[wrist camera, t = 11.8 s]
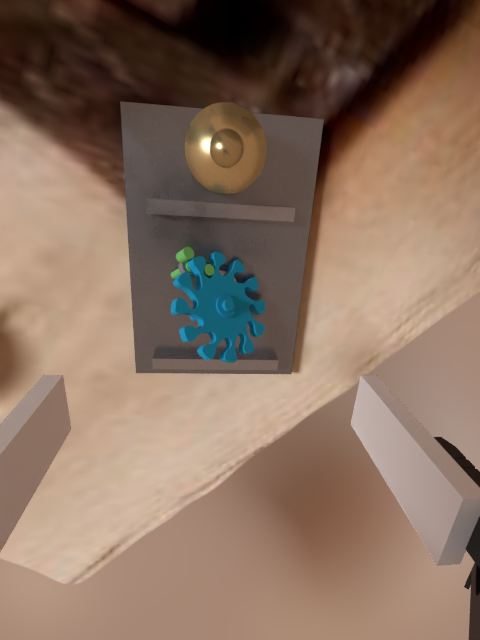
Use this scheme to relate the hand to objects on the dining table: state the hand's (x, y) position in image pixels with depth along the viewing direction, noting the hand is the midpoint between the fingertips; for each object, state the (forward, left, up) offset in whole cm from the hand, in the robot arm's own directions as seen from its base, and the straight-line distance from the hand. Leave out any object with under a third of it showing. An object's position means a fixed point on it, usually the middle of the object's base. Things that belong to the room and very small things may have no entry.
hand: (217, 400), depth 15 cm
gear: (0, +1, -20) cm, 20 cm away
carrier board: (-3, +1, -21) cm, 21 cm away
